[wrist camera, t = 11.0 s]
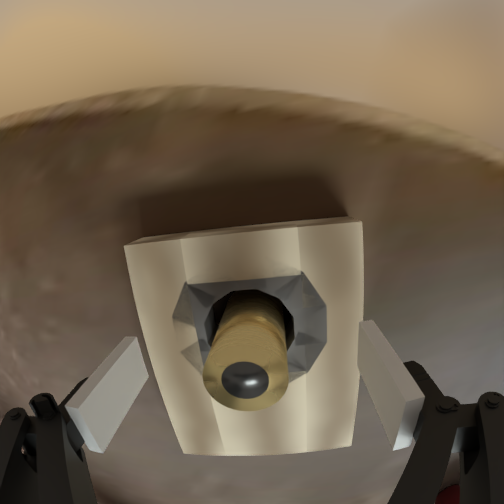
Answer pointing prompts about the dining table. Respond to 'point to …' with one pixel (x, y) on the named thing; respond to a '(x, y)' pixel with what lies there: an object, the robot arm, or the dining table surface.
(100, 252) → the dining table surface
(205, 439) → the jig
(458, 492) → the mug
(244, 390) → the cylinder with metal cap
